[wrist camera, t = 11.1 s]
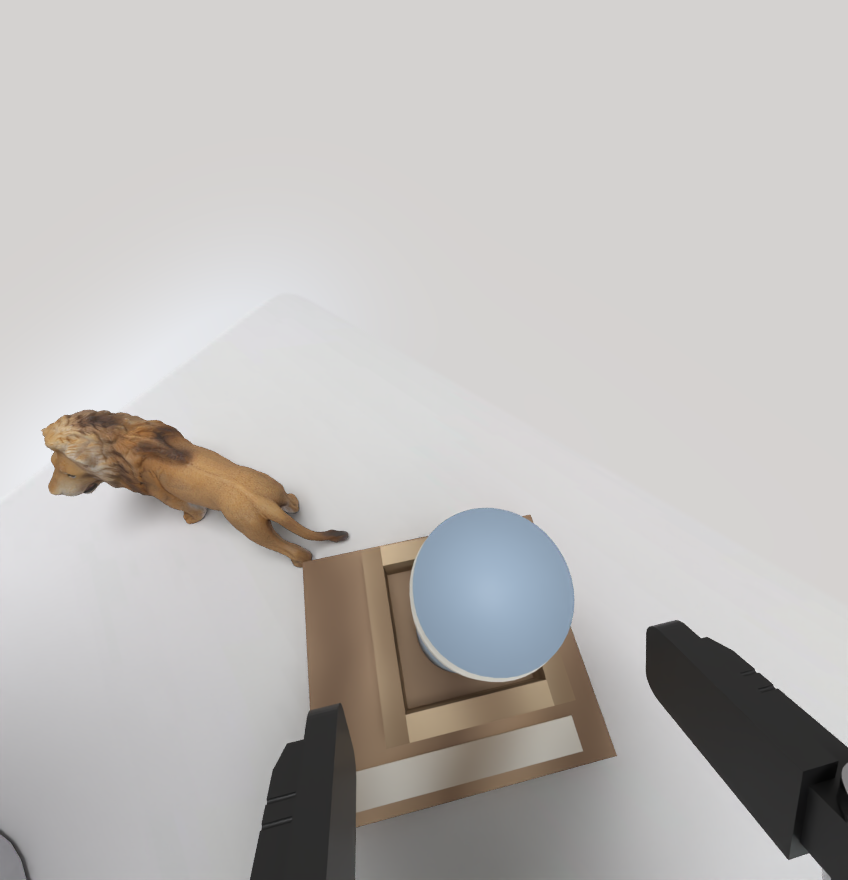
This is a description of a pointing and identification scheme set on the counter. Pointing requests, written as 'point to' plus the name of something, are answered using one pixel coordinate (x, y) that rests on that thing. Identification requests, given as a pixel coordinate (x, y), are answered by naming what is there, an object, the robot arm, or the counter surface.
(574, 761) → the jig board
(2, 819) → the counter surface
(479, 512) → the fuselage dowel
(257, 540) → the lion figurine
